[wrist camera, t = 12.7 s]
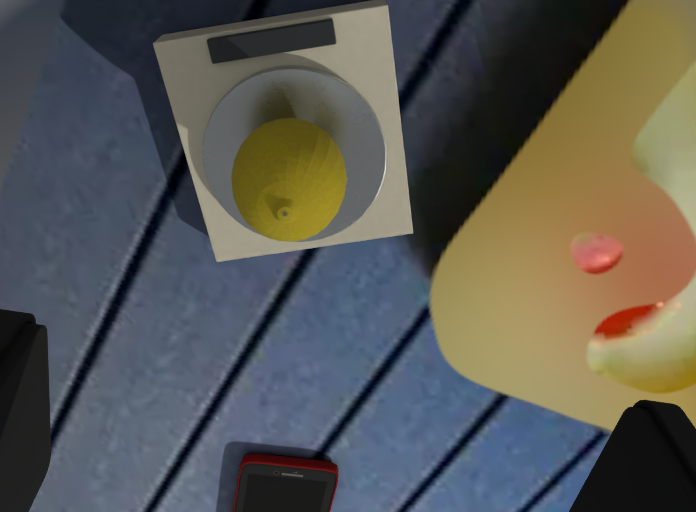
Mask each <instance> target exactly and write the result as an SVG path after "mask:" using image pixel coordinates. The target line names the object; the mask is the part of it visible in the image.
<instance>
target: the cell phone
mask: <svg viewBox="0 0 696 512" xmlns="http://www.w3.org/2000/svg"><path fill="white" fill-rule="evenodd" d="M337 482H338V467H337V465H335V464H334V463H331V462H327V461H319V460H310V459H301V458H292V457H283V456H274V455H265V454H247V455H245V456H244V457H243V458H242V461H241V464H240V469H239V475H238V482H237V489H236V495H235V501H234V508H233V512H330V510H331V506H332V502H333V498H334V494H335V491H336V487H337Z"/></svg>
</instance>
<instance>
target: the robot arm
mask: <svg viewBox="0 0 696 512" xmlns="http://www.w3.org/2000/svg"><path fill="white" fill-rule="evenodd" d="M50 457H51V433H50V401H49V370H48V338H47V329H46V326H44V325H38V324H36V320H35V317H34V315H32V314H30V313H23V312H16V311H9V310H2V309H0V512H29V510H30V508H31V505H32V503H33V501H34V499H35V497H36V495H37V493H38V491H39V489H40V487H41V484H42V482H43V480H44V478H45V476H46V473H47V470H48V467H49V463H50ZM569 512H696V429H695V427H694V426H693V424H692V423H691V422H690V420H689V419H688V417H687V416H686V414H685V413H684V411H683V410H682V409H681V408H680V407H679V406H677V405H674V404H670V403H663V402H656V401H649V400H640V401H638V402H637V403H635V405H634V406H633V407H629V408H627V409H626V410H625V411H624V412H623V414H622V416H621V418H620V420H619V421H618V423H617V425H616V427H615V429H614V430H613V432H612V434H611V436H610V438H609V439H608V441H607V443H606V445H605V447H604V449H603V450H602V452H601V454H600V456H599V458H598V459H597V461H596V463H595V465H594V467H593V469H592V470H591V472H590V474H589V476H588V478H587V479H586V481H585V483H584V485H583V487H582V489H581V490H580V492H579V494H578V496H577V498H576V500H575V501H574V503H573V505H572V507H571V509H570V511H569Z"/></svg>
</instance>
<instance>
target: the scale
mask: <svg viewBox="0 0 696 512" xmlns="http://www.w3.org/2000/svg"><path fill="white" fill-rule="evenodd" d="M153 46H154V49H155V53H156V56H157V60H158V63H159V67H160V70H161V73H162V77H163V80H164V84H165V87H166V91H167V94H168V97H169V101H170V104H171V108H172V111H173V115H174V118H175V121H176V125H177V128H178V132H179V135H180V139H181V142H182V145H183V149H184V152H185V156H186V159H187V163H188V166H189V169H190V173H191V176H192V180H193V183H194V186H195V190H196V193H197V197H198V200H199V204H200V207H201V210H202V214H203V217H204V221H205V224H206V228H207V231H208V234H209V238H210V241H211V245H212V248H213V252H214V255H215V258H216V261H217V262H220V261H227V260H234V259H240V258H247V257H254V256H261V255H268V254H274V253H281V252H288V251H295V250H302V249H309V248H315V247H322V246H329V245H336V244H343V243H350V242H356V241H363V240H370V239H377V238H384V237H390V236H397V235H404V234H411V233H413V226H412V217H411V208H410V199H409V190H408V181H407V172H406V163H405V154H404V145H403V136H402V127H401V118H400V109H399V100H398V91H397V82H396V73H395V64H394V55H393V46H392V37H391V29H390V20H389V11H388V5H387V3H386V1H385V0H371V1H365V2H359V3H353V4H347V5H341V6H335V7H328V8H322V9H316V10H310V11H304V12H298V13H292V14H286V15H280V16H273V17H267V18H261V19H255V20H249V21H243V22H237V23H231V24H225V25H218V26H212V27H206V28H200V29H194V30H188V31H182V32H176V33H170V34H163V35H162V36H161V37H159V38H158V39H157V40H156V41H155V42H154V43H153ZM283 118H295V119H301V120H306V121H308V122H310V123H313V124H315V125H317V126H318V127H320V128H321V129H322V130H324V131H325V132H326V133H328V134H329V135H330V137H331V138H332V139H333V141H334V142H335V143H336V144H337V146H338V148H339V150H340V152H341V154H342V157H343V159H344V162H345V169H346V175H347V181H346V189H345V196H344V198H343V201H342V203H341V206H340V208H339V211H338V213H337V214H336V216H335V217H334V218H333V219H332V221H331V222H330V223H329V225H328V226H327V227H325V228H324V229H323V230H321V231H320V232H319V233H318V234H316V235H314V236H312V237H309V238H307V239H305V240H300V241H295V242H285V241H278V240H274V239H270V238H267V237H265V236H263V235H261V234H259V233H258V232H257V231H255V230H254V229H253V228H252V227H251V226H250V225H248V223H247V222H246V221H245V219H244V218H243V217H242V215H241V214H240V212H239V210H238V208H237V205H236V203H235V200H234V197H233V191H232V182H231V175H232V169H233V163H234V159H235V157H236V155H237V153H238V150H239V148H240V146H241V144H242V143H243V142H244V141H245V139H246V138H247V137H248V136H249V135H250V134H251V133H252V132H253V131H254V130H256V129H257V128H259V127H260V126H262V125H263V124H265V123H268V122H271V121H274V120H276V119H283Z"/></svg>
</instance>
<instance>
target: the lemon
mask: <svg viewBox="0 0 696 512" xmlns="http://www.w3.org/2000/svg"><path fill="white" fill-rule="evenodd" d="M346 181H347V175H346V169H345V162H344V159H343V157H342V154H341V152H340V150H339V148H338V146H337V144H336V143H335V142H334V141H333V139H332V138H331V137H330V135H329V134H328V133H326V132H325V131H324V130H322V129H321V128H320V127H318V126H317V125H315V124H313V123H310V122H308V121H306V120H301V119H295V118H283V119H276V120H274V121H271V122H268V123H265V124H263V125H262V126H260V127H259V128H257V129H256V130H254V131H253V132H252V133H251V134H250V135H249V136H248V137H247V138H246V139H245V141H244V142H243V143H242V144H241V146H240V148H239V150H238V153H237V155H236V157H235V159H234V163H233V169H232V175H231V182H232V191H233V197H234V200H235V203H236V205H237V208H238V210H239V212H240V214H241V215H242V217H243V218H244V219H245V221H246V222H247V223H248V225H250V226H251V227H252V228H253V229H254V230H255V231H257V232H258V233H259V234H261V235H263V236H265V237H267V238H270V239H274V240H278V241H285V242H295V241H300V240H305V239H307V238H309V237H312V236H314V235H316V234H318V233H319V232H320V231H321V230H323V229H324V228H325V227H327V226H328V225H329V223H330V222H331V221H332V219H333V218H334V217H335V216H336V214H337V213H338V211H339V208H340V206H341V203H342V201H343V198H344V196H345V189H346Z"/></svg>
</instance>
